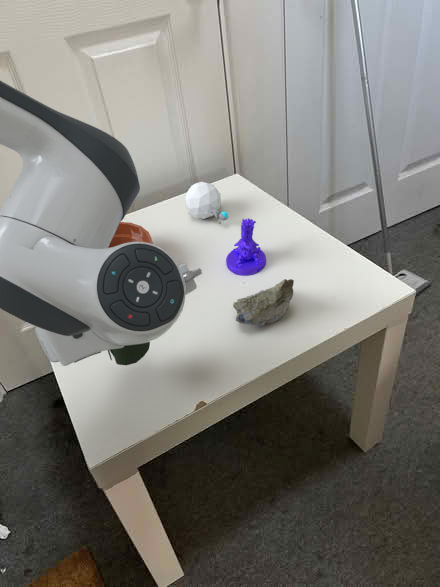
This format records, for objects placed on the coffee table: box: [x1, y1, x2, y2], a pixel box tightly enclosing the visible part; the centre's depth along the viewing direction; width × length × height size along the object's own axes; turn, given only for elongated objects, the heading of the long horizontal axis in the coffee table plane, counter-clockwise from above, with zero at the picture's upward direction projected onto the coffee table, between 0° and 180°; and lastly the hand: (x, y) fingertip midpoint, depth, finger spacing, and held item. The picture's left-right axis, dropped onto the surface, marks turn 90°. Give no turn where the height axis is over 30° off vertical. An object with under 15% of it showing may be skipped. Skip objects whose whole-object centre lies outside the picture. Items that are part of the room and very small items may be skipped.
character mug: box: [107, 341, 151, 366], centre depth 64 cm, size 11×7×13 cm, turn 52°
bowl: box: [108, 221, 154, 248], centre depth 91 cm, size 18×18×6 cm
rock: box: [232, 278, 295, 328], centre depth 78 cm, size 11×6×10 cm
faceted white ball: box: [184, 181, 229, 221], centre depth 101 cm, size 8×8×12 cm
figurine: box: [225, 217, 267, 277], centre depth 88 cm, size 8×8×10 cm
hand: (115, 314), depth 64 cm, fingers closed on character mug, 7 cm apart
